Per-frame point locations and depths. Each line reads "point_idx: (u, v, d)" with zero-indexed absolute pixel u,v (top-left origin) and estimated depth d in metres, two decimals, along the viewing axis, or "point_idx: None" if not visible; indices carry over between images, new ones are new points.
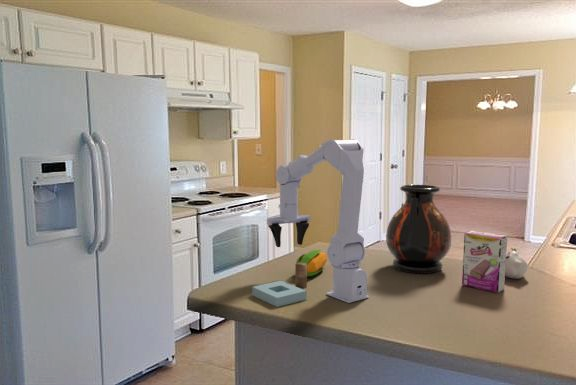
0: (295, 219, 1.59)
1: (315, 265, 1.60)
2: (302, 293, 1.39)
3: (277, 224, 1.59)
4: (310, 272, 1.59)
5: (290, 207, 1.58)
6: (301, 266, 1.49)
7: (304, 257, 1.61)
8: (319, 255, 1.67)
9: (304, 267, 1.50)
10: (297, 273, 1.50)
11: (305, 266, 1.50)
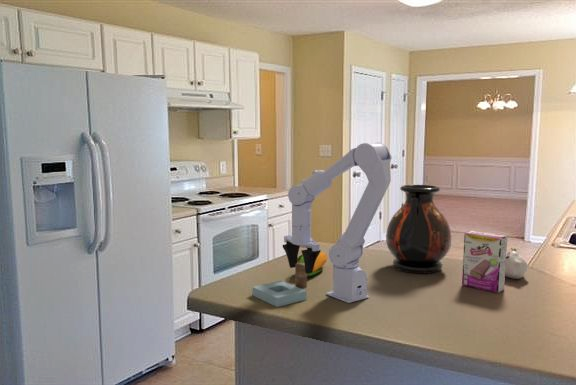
0: (295, 242, 1.48)
1: (314, 264, 1.61)
2: (302, 293, 1.39)
3: (289, 243, 1.53)
4: None
5: (292, 228, 1.49)
6: (301, 266, 1.49)
7: (303, 257, 1.61)
8: (318, 255, 1.67)
9: (304, 267, 1.50)
10: (297, 273, 1.50)
11: None
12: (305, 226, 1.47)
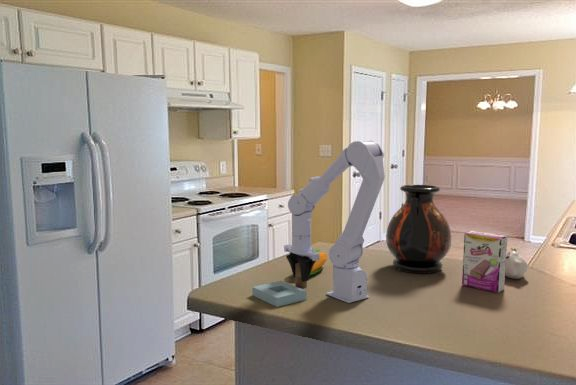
0: (295, 252, 1.48)
1: None
2: (302, 293, 1.39)
3: None
4: None
5: (292, 238, 1.49)
6: None
7: None
8: None
9: None
10: (297, 273, 1.50)
11: None
12: (305, 236, 1.47)
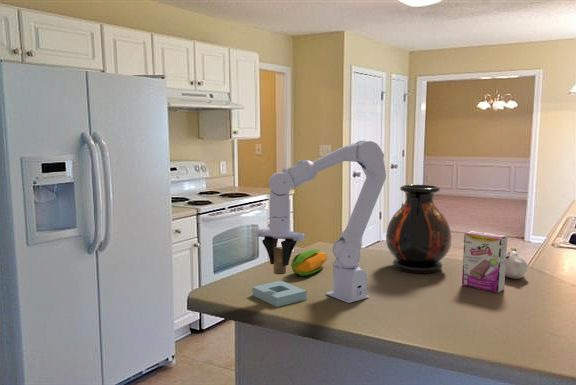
0: (277, 235, 1.37)
1: (310, 264, 1.61)
2: (302, 293, 1.39)
3: (264, 237, 1.42)
4: (304, 271, 1.60)
5: (272, 220, 1.38)
6: (282, 250, 1.39)
7: (299, 256, 1.62)
8: (316, 255, 1.67)
9: None
10: (278, 258, 1.39)
11: None
12: (287, 216, 1.38)
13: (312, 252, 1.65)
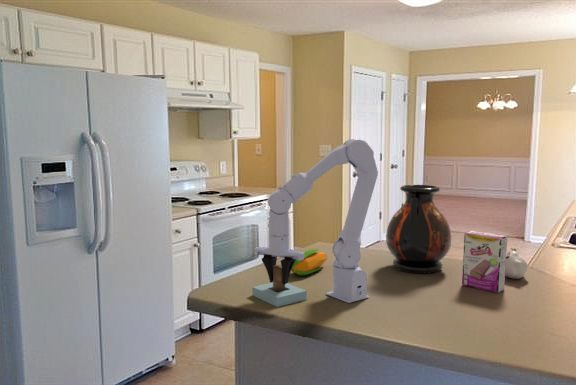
0: (277, 254, 1.38)
1: (308, 264, 1.62)
2: (302, 293, 1.39)
3: None
4: (302, 271, 1.60)
5: (272, 239, 1.38)
6: (281, 268, 1.40)
7: None
8: (316, 254, 1.68)
9: None
10: (278, 276, 1.40)
11: None
12: (287, 235, 1.38)
13: (311, 252, 1.66)
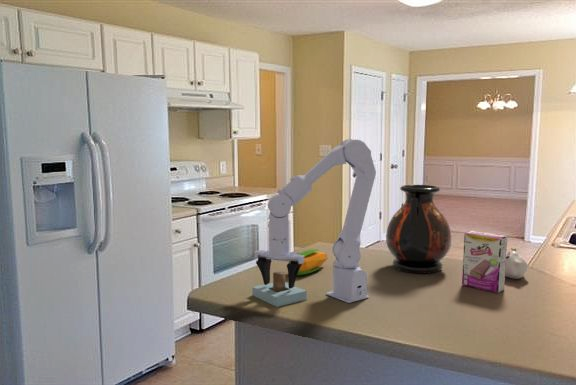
0: (277, 257, 1.38)
1: (306, 263, 1.62)
2: (302, 293, 1.39)
3: (263, 259, 1.42)
4: (300, 271, 1.61)
5: (272, 242, 1.38)
6: (282, 275, 1.40)
7: None
8: (315, 254, 1.68)
9: (284, 276, 1.41)
10: (278, 283, 1.40)
11: None
12: (287, 238, 1.38)
13: (310, 252, 1.66)
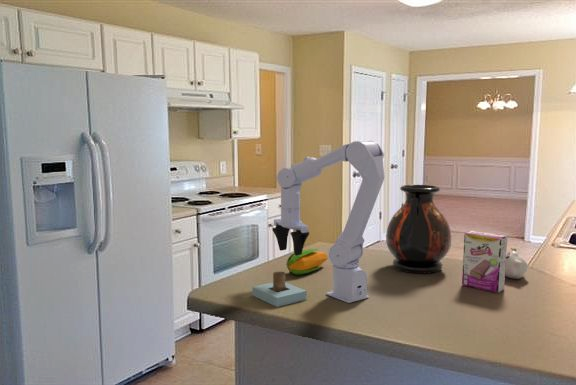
0: (284, 225, 1.50)
1: (304, 263, 1.62)
2: (302, 293, 1.39)
3: (279, 226, 1.55)
4: (298, 270, 1.61)
5: (281, 211, 1.51)
6: (282, 275, 1.40)
7: (294, 255, 1.63)
8: (314, 254, 1.68)
9: (284, 276, 1.41)
10: (278, 283, 1.40)
11: None
12: (294, 208, 1.49)
13: (308, 251, 1.66)
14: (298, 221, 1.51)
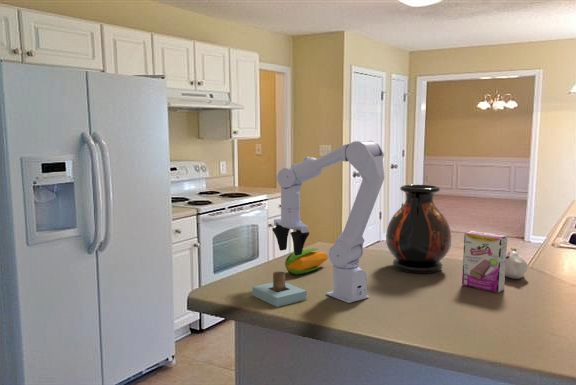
0: (284, 225, 1.50)
1: (303, 263, 1.63)
2: (302, 293, 1.39)
3: (279, 226, 1.55)
4: (296, 270, 1.62)
5: (281, 211, 1.51)
6: (281, 275, 1.40)
7: (293, 254, 1.64)
8: (313, 254, 1.68)
9: (284, 276, 1.41)
10: (278, 283, 1.40)
11: (284, 275, 1.41)
12: (294, 208, 1.49)
13: (307, 251, 1.67)
14: (298, 221, 1.51)
